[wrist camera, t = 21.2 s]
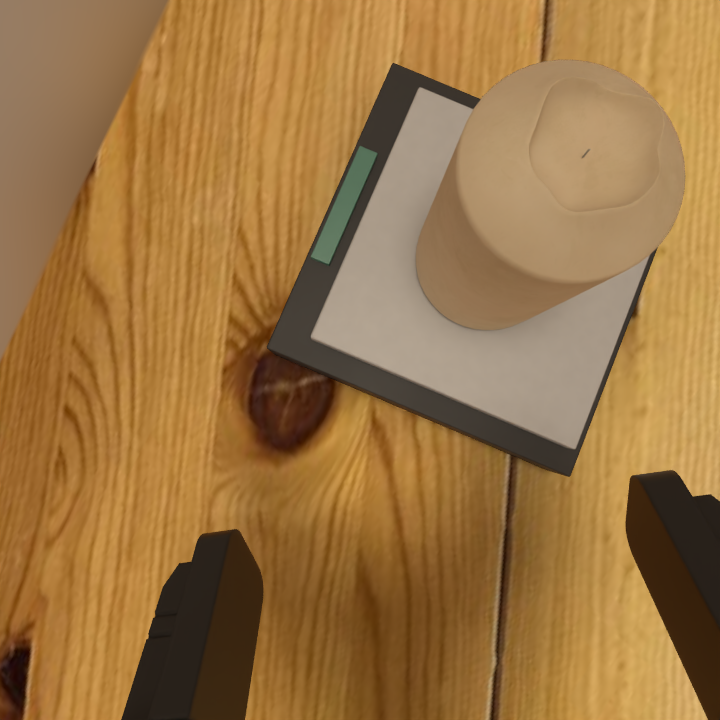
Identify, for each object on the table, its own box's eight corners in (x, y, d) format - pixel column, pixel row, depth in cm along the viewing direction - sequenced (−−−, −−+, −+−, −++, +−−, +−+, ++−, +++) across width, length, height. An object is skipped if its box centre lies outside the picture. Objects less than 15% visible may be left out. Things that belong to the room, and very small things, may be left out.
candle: (389, 231, 22) (424, 83, 12) (512, 170, 22) (647, -24, 12) (455, 356, 22) (549, 311, 12) (580, 292, 22) (774, 194, 12)
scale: (273, 354, 25) (262, 345, 21) (388, 93, 26) (394, 49, 23) (548, 470, 24) (578, 479, 21) (651, 203, 26) (694, 174, 22)
